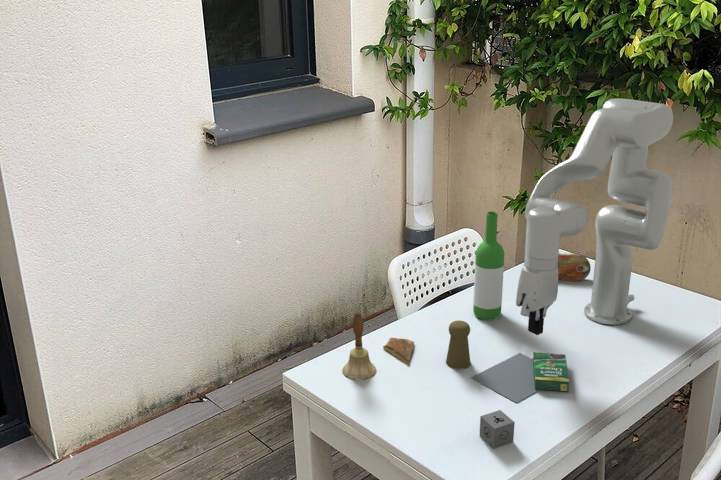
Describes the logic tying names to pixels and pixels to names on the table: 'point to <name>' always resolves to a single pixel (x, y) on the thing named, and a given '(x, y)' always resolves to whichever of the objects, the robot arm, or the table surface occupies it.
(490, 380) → the slate mat
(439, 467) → the table surface
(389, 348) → the shard
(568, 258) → the tin
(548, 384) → the coffee box
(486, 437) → the dice cube
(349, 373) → the hand bell
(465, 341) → the cork
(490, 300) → the wine bottle
